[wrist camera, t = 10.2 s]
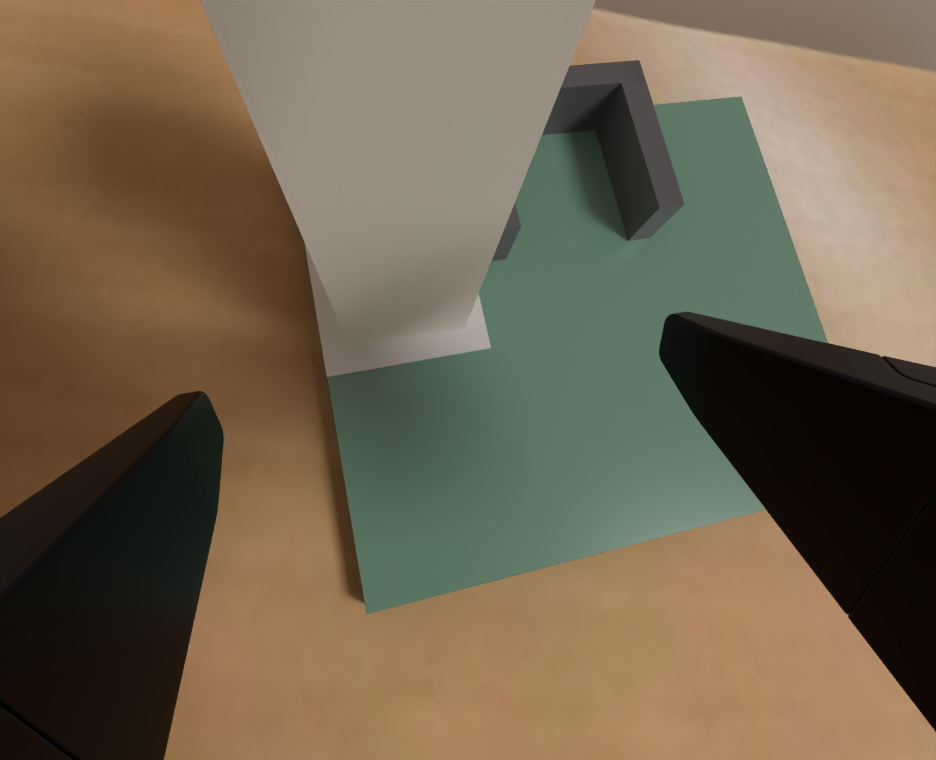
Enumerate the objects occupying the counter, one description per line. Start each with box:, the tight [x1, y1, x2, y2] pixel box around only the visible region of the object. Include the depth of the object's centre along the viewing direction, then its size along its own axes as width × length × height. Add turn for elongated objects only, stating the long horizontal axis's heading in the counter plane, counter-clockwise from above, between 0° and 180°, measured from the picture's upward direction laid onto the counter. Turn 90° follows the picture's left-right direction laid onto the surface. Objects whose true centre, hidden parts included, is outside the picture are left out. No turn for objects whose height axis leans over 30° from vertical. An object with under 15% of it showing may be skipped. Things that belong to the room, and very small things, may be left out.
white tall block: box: [200, 0, 596, 348], centre depth 11 cm, size 4×4×14 cm
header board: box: [304, 60, 828, 614], centre depth 18 cm, size 18×20×4 cm
